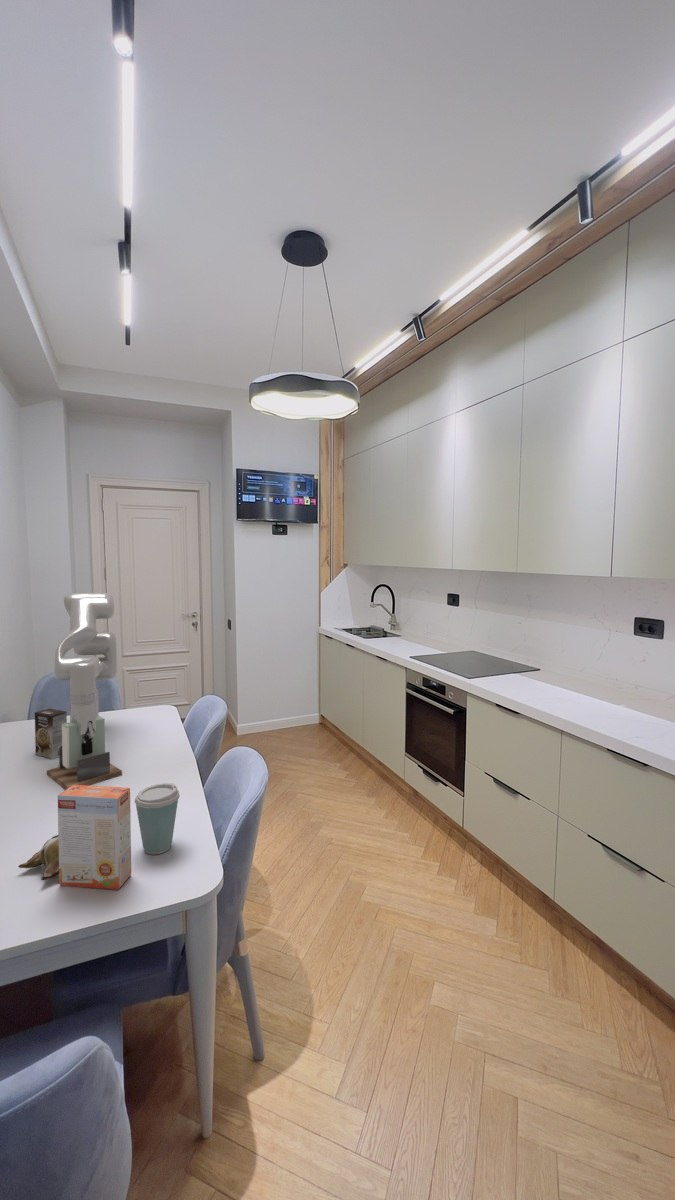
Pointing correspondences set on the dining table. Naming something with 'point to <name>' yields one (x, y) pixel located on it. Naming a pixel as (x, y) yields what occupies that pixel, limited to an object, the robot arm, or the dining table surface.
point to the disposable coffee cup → (157, 816)
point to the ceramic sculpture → (46, 859)
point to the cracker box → (94, 836)
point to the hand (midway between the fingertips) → (84, 751)
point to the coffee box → (49, 732)
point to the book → (80, 742)
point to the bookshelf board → (84, 771)
